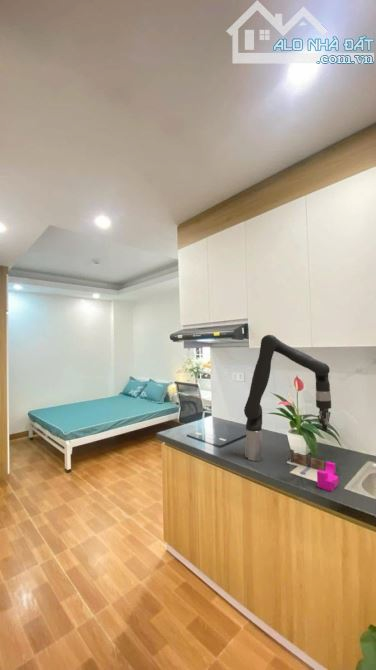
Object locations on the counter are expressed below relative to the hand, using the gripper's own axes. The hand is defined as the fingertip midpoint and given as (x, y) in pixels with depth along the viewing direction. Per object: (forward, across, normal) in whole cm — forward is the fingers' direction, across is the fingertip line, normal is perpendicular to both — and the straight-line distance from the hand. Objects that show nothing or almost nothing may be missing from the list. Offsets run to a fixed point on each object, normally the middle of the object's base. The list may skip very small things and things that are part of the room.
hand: (324, 430), depth 151 cm
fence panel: (+20, +5, -2) cm, 20 cm away
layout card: (+20, +11, -8) cm, 24 cm away
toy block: (+21, +16, +7) cm, 27 cm away
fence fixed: (+20, +6, -12) cm, 24 cm away
